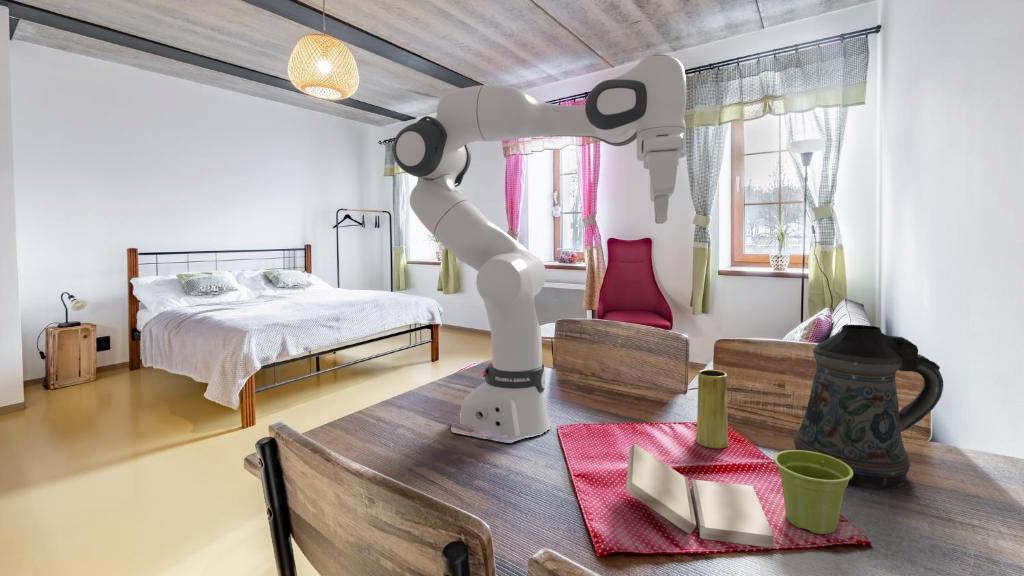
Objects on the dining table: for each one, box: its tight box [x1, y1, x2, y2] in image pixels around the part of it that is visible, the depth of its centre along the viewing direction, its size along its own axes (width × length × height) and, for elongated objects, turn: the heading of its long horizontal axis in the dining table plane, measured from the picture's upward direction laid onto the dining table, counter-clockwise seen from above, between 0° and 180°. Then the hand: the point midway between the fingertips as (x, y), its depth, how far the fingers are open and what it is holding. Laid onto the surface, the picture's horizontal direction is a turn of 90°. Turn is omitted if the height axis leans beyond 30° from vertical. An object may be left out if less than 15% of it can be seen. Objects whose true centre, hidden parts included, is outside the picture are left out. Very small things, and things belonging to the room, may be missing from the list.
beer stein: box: [793, 324, 944, 490], centre depth 81 cm, size 16×19×25 cm
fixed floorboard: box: [691, 478, 775, 549], centre depth 69 cm, size 9×13×2 cm
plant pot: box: [773, 449, 853, 535], centre depth 66 cm, size 9×9×9 cm
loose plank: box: [625, 443, 697, 535], centre depth 71 cm, size 10×13×2 cm
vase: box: [695, 369, 730, 450], centre depth 93 cm, size 6×6×14 cm
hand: (660, 222), depth 89 cm, fingers open, 8 cm apart
